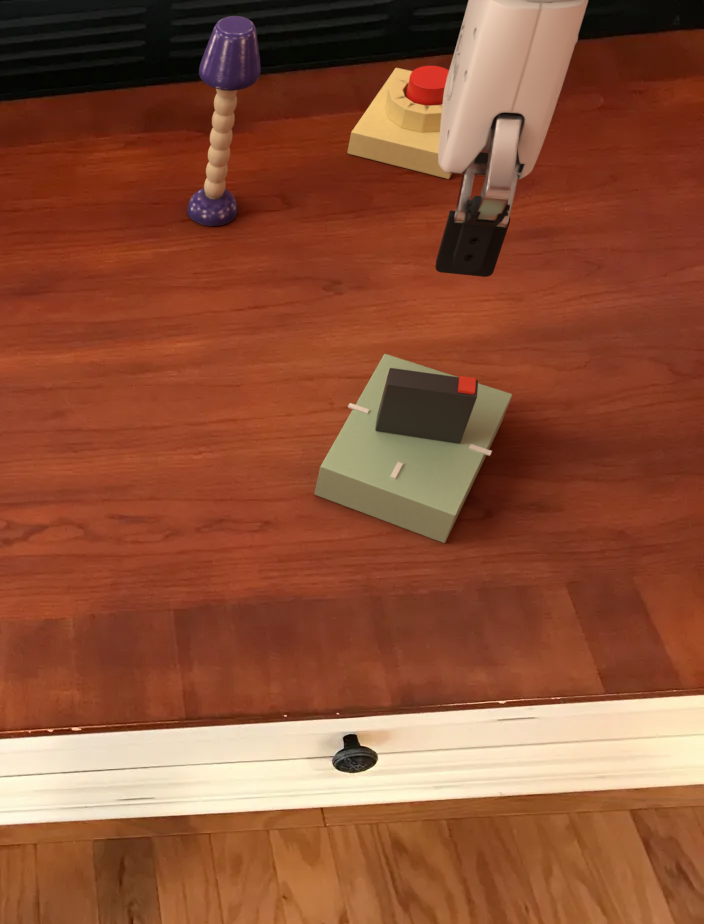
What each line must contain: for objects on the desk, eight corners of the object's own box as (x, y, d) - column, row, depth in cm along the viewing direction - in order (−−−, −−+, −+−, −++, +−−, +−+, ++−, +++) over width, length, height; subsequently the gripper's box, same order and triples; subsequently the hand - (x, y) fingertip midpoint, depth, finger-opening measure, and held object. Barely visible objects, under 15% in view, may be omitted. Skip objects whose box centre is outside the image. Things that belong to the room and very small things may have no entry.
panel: (372, 381, 84) (380, 349, 82) (506, 425, 81) (518, 393, 78) (309, 492, 79) (315, 462, 76) (450, 545, 75) (461, 516, 72)
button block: (391, 89, 106) (399, 48, 103) (489, 111, 103) (501, 70, 100) (347, 153, 101) (354, 113, 98) (448, 179, 97) (460, 138, 94)
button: (414, 80, 100) (418, 61, 99) (455, 89, 99) (460, 70, 98) (399, 101, 99) (404, 83, 97) (441, 111, 97) (446, 92, 96)
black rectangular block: (374, 431, 77) (388, 381, 74) (377, 414, 78) (390, 364, 75) (460, 444, 76) (478, 394, 72) (461, 426, 77) (479, 376, 73)
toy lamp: (225, 188, 100) (242, 1, 86) (255, 216, 97) (278, 28, 84) (177, 206, 99) (187, 21, 85) (207, 236, 96) (222, 49, 83)
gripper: (474, -145, 62) (410, 132, 76) (461, 23, 52) (391, 307, 66) (624, -142, 60) (532, 141, 74) (640, 32, 51) (530, 322, 64)
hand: (466, 219), depth 70 cm, fingers open, 9 cm apart
